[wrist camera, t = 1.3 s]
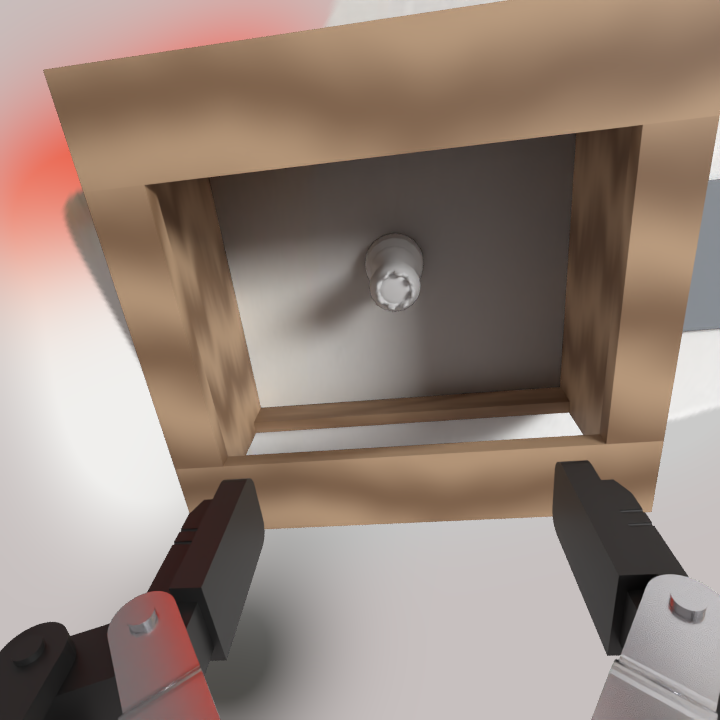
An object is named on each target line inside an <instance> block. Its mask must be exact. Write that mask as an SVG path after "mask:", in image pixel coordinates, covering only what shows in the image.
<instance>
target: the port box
mask: <svg viewBox="0 0 720 720" xmlns="http://www.w3.org/2000/svg"><path fill="white" fill-rule="evenodd" d="M43 71H44V74H45V77H46V80H47V83H48V86H49V89H50V92H51V96H52V99H53V102H54V105H55V108H56V111H57V114H58V117H59V120H60V123H61V126H62V129H63V132H64V135H65V138H66V141H67V144H68V147H69V150H70V153H71V156H72V159H73V162H74V165H75V168H76V171H77V174H78V177H79V180H80V183H81V186H82V189H83V192H84V195H85V198H86V201H87V204H88V207H89V210H90V213H91V216H92V219H93V222H94V225H95V229H96V232H97V235H98V238H99V241H100V244H101V247H102V250H103V253H104V256H105V259H106V262H107V265H108V268H109V271H110V274H111V277H112V280H113V283H114V286H115V289H116V292H117V295H118V298H119V301H120V304H121V307H122V310H123V313H124V316H125V319H126V322H127V325H128V328H129V331H130V334H131V337H132V340H133V343H134V346H135V349H136V352H137V355H138V358H139V361H140V364H141V367H142V371H143V374H144V377H145V380H146V383H147V386H148V388H149V392H150V395H151V397H152V401H153V404H154V407H155V410H156V413H157V416H158V419H159V422H160V425H161V428H162V431H163V434H164V437H165V440H166V443H167V446H168V449H169V452H170V455H171V458H172V461H173V464H174V467H175V470H176V473H177V476H178V479H179V482H180V485H181V488H182V491H183V494H184V497H185V500H186V503H187V506H188V509H189V513H190V512H192V511H193V510H194V509H195V508H196V507H197V506H198V505H199V504H200V503H201V502H202V501H203V500H207V499H213V497H214V495H215V493H216V491H217V489H218V487H219V485H220V483H221V482H222V481H223V480H225V479H243V478H251V479H252V480H253V482H254V485H255V489H256V493H257V497H258V501H259V505H260V509H261V513H262V517H263V521H264V529H279V528H302V527H324V526H347V525H369V524H392V523H414V522H437V521H460V520H481V519H505V518H527V517H548V516H553V514H552V505H553V489H554V473H555V465H556V463H557V462H563V461H580V460H588V461H589V462H590V463H591V464H592V466H593V467H594V469H595V471H596V472H597V474H598V476H599V477H600V479H601V480H611V479H614V480H615V481H616V482H618V483H619V484H621V485H622V486H623V487H625V488H626V489H627V490H629V491H630V492H631V493H632V494H633V495H634V497H635V498H636V500H637V501H638V503H639V504H640V506H641V507H642V509H643V512H652V506H653V500H654V494H655V488H656V482H657V477H658V471H659V465H660V459H661V453H662V448H663V441H664V436H665V430H666V424H667V418H668V413H669V407H670V401H671V395H672V389H673V383H674V378H675V372H676V366H677V360H678V354H679V349H680V343H681V337H682V331H683V325H684V319H685V314H686V308H687V302H688V296H689V290H690V285H691V279H692V273H693V267H694V261H695V255H696V250H697V244H698V238H699V232H700V226H701V221H702V215H703V209H704V203H705V197H706V191H707V186H708V180H709V174H710V168H711V162H712V157H713V151H714V145H715V139H716V133H717V127H718V122H719V116H720V0H507V1H501V2H494V3H487V4H480V5H474V6H467V7H460V8H454V9H447V10H440V11H434V12H427V13H420V14H414V15H407V16H400V17H393V18H387V19H380V20H373V21H367V22H360V23H353V24H347V25H340V26H333V27H326V28H320V29H314V30H307V31H300V32H293V33H287V34H280V35H273V36H266V37H260V38H253V39H246V40H239V41H233V42H226V43H219V44H213V45H206V46H200V47H193V48H186V49H180V50H172V51H166V52H159V53H153V54H146V55H139V56H132V57H126V58H119V59H112V60H106V61H99V62H92V63H85V64H79V65H72V66H65V67H59V68H52V69H45V70H43ZM571 133H576V142H575V158H574V174H573V190H572V205H571V221H570V237H569V253H568V268H567V284H566V300H565V315H564V331H563V347H562V363H561V378H560V387H552V388H538V389H524V390H510V391H495V392H481V393H467V394H453V395H438V396H424V397H410V398H396V399H381V400H367V401H353V402H339V403H324V404H310V405H296V406H282V407H267V408H261V406H260V402H259V398H258V393H257V389H256V384H255V380H254V376H253V371H252V367H251V362H250V358H249V354H248V349H247V345H246V340H245V336H244V332H243V327H242V323H241V318H240V314H239V310H238V305H237V301H236V296H235V292H234V288H233V283H232V279H231V274H230V270H229V266H228V261H227V257H226V252H225V248H224V244H223V239H222V235H221V230H220V226H219V222H218V217H217V213H216V208H215V204H214V200H213V195H212V191H211V186H210V182H209V178H208V177H215V176H223V175H231V174H240V173H248V172H256V171H264V170H273V169H281V168H289V167H298V166H306V165H314V164H322V163H331V162H339V161H347V160H356V159H364V158H372V157H380V156H389V155H397V154H405V153H413V152H422V151H430V150H438V149H447V148H455V147H463V146H471V145H480V144H488V143H496V142H505V141H513V140H521V139H529V138H538V137H546V136H554V135H562V134H571ZM568 412H569V413H570V415H571V416H572V418H573V419H574V421H575V423H576V424H577V426H578V427H579V429H580V430H581V432H582V433H583V435H578V436H561V437H545V438H528V439H512V440H495V441H478V442H462V443H445V444H429V445H412V446H395V447H379V448H362V449H346V450H329V451H312V452H296V453H279V454H263V455H246V454H247V451H248V449H249V447H250V445H251V443H252V441H253V438H254V436H255V434H256V433H260V432H276V431H291V430H306V429H322V428H337V427H352V426H368V425H383V424H399V423H414V422H429V421H445V420H460V419H476V418H491V417H506V416H522V415H537V414H553V413H568Z"/></svg>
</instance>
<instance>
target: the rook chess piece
mask: <svg viewBox="0 0 720 720" xmlns="http://www.w3.org/2000/svg"><path fill="white" fill-rule="evenodd" d="M423 264H424V261H423V255H422V251H421V249H420V248H419V246H418V245H417V243H416V242H415V241H414V240H412V239H411V238H409V237H408V236H406V235H401V234H396V233H393V234H388V235H384V236H382V237H380V238H379V239H377V240H376V241H375V242H373V243H372V245H371V247H370V248H369V250H368V251H367V255H366V260H365V267H366V272H367V276H368V278H369V280H370V286H369V289H370V293H371V297H372V299H373V300H374V301H375V303H376V304H377V305H378V306H380V307H381V308H383V309H384V310H388V311H394V312H396V311H401V310H405V309H406V308H408V307H410V306H411V305H413V303H414V302H415V301H416V299H417V298H418V296H419V292H420V288H421V286H420V280H419V279H420V277H421V274H422V270H423V266H424V265H423Z"/></svg>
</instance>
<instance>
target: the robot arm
mask: <svg viewBox="0 0 720 720" xmlns="http://www.w3.org/2000/svg"><path fill="white" fill-rule="evenodd" d="M552 514H553V522H554V527H555V530H556V533H557V536H558V538H559V541H560V543H561V545H562V548H563V550H564V553H565V555H566V558H567V560H568V562H569V565H570V567H571V570H572V572H573V574H574V577H575V579H576V582H577V584H578V586H579V589H580V591H581V593H582V596H583V598H584V601H585V603H586V605H587V608H588V610H589V613H590V615H591V618H592V620H593V622H594V625H595V627H596V629H597V632H598V634H599V637H600V639H601V641H602V644H603V646H604V649H605V651H606V654H607V656H608V655H609V656H610V655H621V656H620V658H619V660H617V659H616V660H615V661H614V663H613V665H612V667H611V669H610V672H609V674H608V677H607V680H606V682H605V685H604V688H603V690H602V693H601V695H600V698H599V701H598V703H597V706H596V709H595V711H594V714H593V716H592V719H591V720H720V595H718V594H717V593H716V592H715V591H713V590H712V589H711V588H709V587H708V586H706V585H705V584H703V583H701V582H699V581H697V580H694V579H692V578H689V577H688V575H687V574H686V572H685V571H684V569H683V568H682V567H681V565H680V563H679V562H678V561H677V559H676V558H675V556H674V555H673V553H672V552H671V550H670V549H669V547H668V546H667V544H666V543H665V541H664V540H663V538H662V537H661V535H660V534H659V532H658V531H657V530H656V528H655V526H652V522H651V521H650V519H649V518H648V516H647V515H646V513H645V512H643V509H642V507H641V506H640V504H639V503H638V501H637V500H636V498H635V497H634V495H633V494H632V493H631V492H630V491H629V490H627V489H626V488H625V487H623V486H622V485H621V484H619V483H618V482H616V481H615V480H614V479H611V480H601V479H600V477H599V476H598V474H597V472H596V471H595V469H594V467H593V466H592V464H591V463H590V462H589V461H588V460H580V461H563V462H557V463H556V465H555V473H554V489H553V505H552ZM263 542H264V521H263V517H262V513H261V509H260V505H259V501H258V497H257V493H256V489H255V485H254V482H253V480H252V479H251V478H243V479H225V480H223V481H222V482H221V483H220V485H219V487H218V489H217V491H216V493H215V495H214V497H213V499H207V500H203V501H202V502H201V503H200V504H199V505H198V506H197V507H196V508H195V509H194V510H193V511H192V512H190V513H189V515H188V517H187V519H186V521H185V523H184V525H183V526H182V528H181V532H179V534H178V536H177V538H176V540H175V541H174V545H172V547H171V549H170V551H169V552H168V554H167V556H166V558H165V560H164V562H163V564H162V566H161V567H160V569H159V571H158V573H157V575H156V577H155V579H154V581H153V582H152V585H151V586H150V588H149V590H148V592H147V593H145V594H142V595H139V596H137V597H135V598H134V599H132V600H130V601H129V602H128V603H126V604H125V605H124V606H123V607H122V608H121V609H120V610H119V611H118V612H117V613H116V614H115V616H114V617H113V619H112V621H111V622H110V624H107V625H104V626H101V627H98V628H95V629H91V630H88V631H85V632H82V633H79V634H76V635H73V636H70V635H69V633H68V631H67V629H66V627H65V626H64V625H62V624H60V623H57V622H47V623H42V624H39V625H36V626H34V627H31V628H30V629H27V630H25V631H24V632H22V633H21V634H19V635H18V636H16V637H15V638H14V639H12V640H11V641H10V642H9V643H8V644H7V645H6V646H5V647H4V648H3V649H2V650H1V651H0V720H221V719H220V716H219V714H218V711H217V709H216V706H215V703H214V701H213V698H212V695H211V693H210V690H209V688H208V685H207V682H206V680H205V677H204V676H205V673H206V670H207V667H208V664H209V662H210V661H214V660H215V661H217V660H227V657H228V654H229V651H230V647H231V645H232V641H233V638H234V635H235V632H236V629H237V626H238V622H239V619H240V616H241V613H242V610H243V606H244V603H245V600H246V597H247V594H248V591H249V588H250V584H251V581H252V578H253V575H254V572H255V569H256V565H257V562H258V559H259V556H260V553H261V549H262V546H263Z"/></svg>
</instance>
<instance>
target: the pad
mask: <svg viewBox="0 0 720 720" xmlns="http://www.w3.org/2000/svg"><path fill="white" fill-rule="evenodd" d="M717 328H720V179H717V180H708V186H707V191H706V197H705V203H704V209H703V215H702V221H701V226H700V232H699V238H698V244H697V250H696V255H695V261H694V267H693V273H692V279H691V285H690V290H689V296H688V302H687V308H686V314H685V319H684V325H683V331H692V330H705V329H717Z"/></svg>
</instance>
